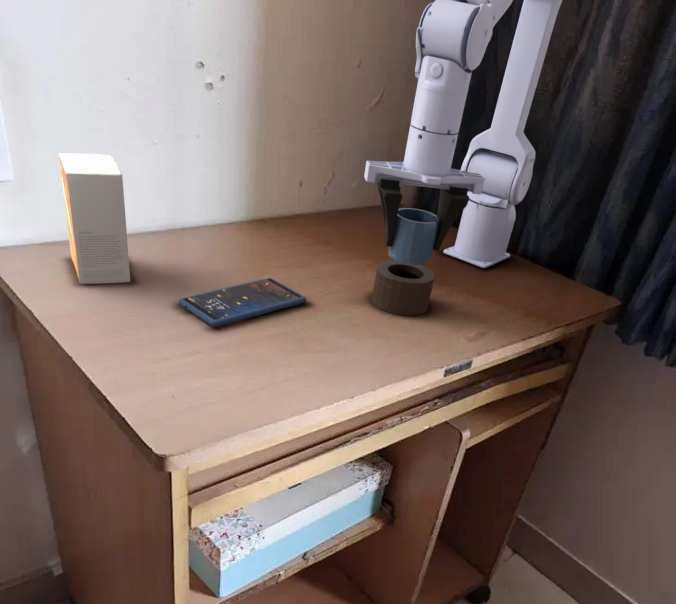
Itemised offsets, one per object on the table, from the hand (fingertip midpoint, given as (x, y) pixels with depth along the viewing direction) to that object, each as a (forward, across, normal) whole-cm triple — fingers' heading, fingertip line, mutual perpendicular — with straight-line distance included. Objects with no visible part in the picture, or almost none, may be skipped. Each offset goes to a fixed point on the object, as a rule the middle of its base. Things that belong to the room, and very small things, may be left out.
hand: (410, 245), depth 86 cm
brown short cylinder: (+8, 0, 0) cm, 8 cm away
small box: (+8, -40, +3) cm, 41 cm away
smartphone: (+8, -21, -4) cm, 23 cm away
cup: (+1, 0, 0) cm, 1 cm away
